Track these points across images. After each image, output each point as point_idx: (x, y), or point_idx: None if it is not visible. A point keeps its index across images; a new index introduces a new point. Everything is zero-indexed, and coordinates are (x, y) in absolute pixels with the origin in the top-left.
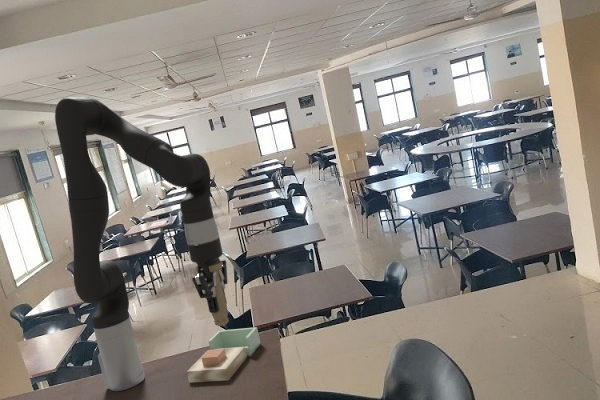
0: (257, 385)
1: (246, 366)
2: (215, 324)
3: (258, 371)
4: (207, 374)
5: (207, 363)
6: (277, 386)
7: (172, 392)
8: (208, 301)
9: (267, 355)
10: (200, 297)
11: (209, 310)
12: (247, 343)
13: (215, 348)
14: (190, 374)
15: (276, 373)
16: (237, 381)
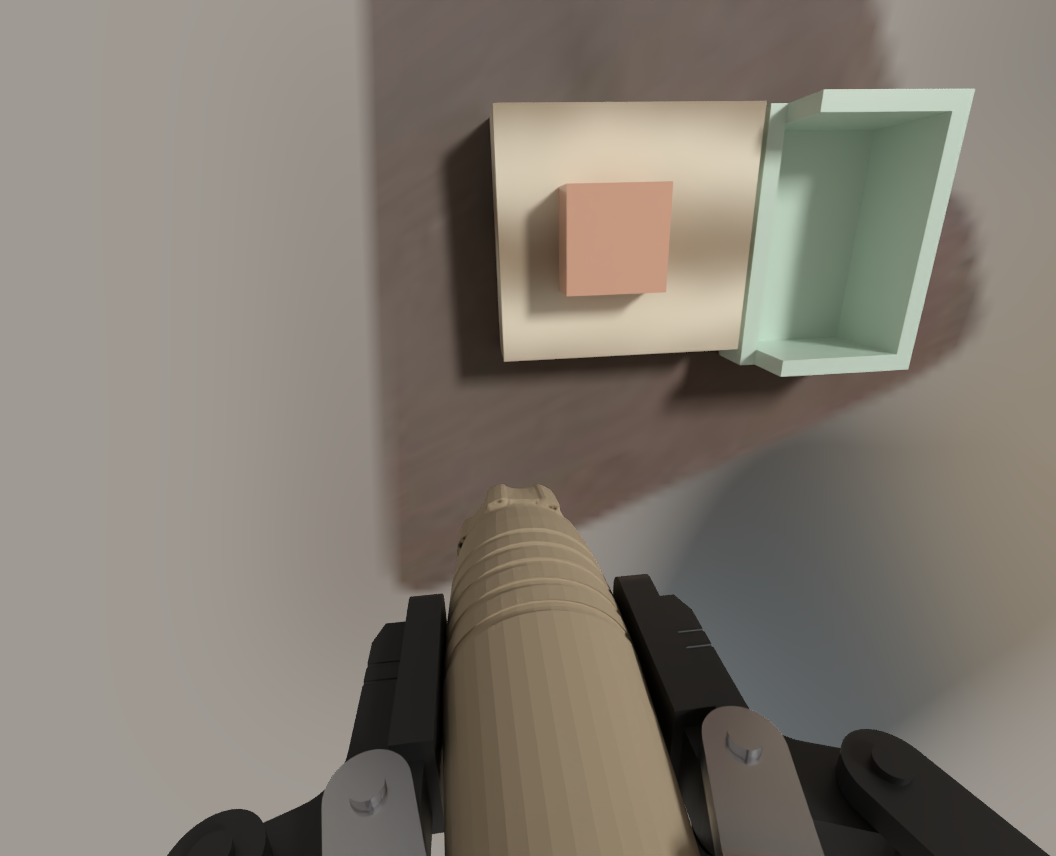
0: (452, 498)
1: (621, 376)
2: (487, 491)
3: (566, 453)
4: (497, 244)
5: (560, 220)
6: (443, 574)
7: (388, 56)
8: (355, 746)
9: (707, 432)
10: (175, 848)
11: (380, 632)
12: (763, 357)
13: (807, 125)
14: (492, 129)
15: None
16: (488, 396)
